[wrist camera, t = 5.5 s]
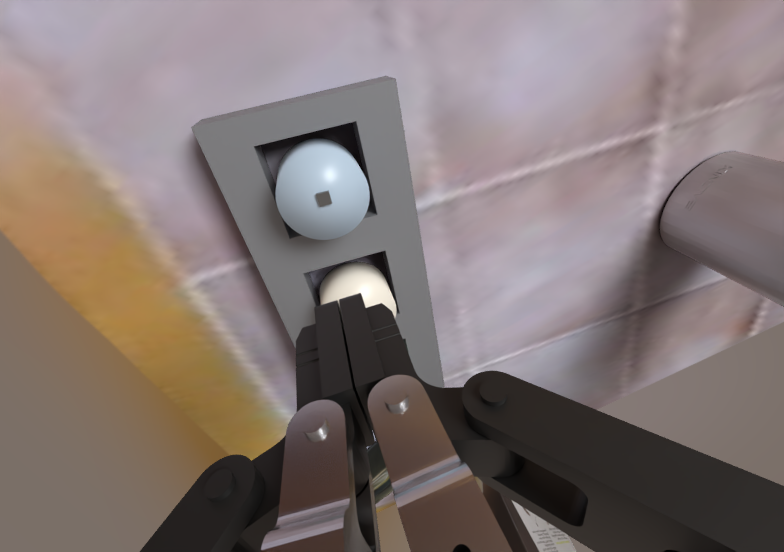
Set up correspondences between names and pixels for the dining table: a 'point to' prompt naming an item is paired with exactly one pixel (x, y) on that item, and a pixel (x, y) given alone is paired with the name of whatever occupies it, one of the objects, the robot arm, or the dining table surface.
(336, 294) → the cream button
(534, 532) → the coffee box
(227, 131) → the button board
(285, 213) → the blue button
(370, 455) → the mobile phone
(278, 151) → the dining table surface
